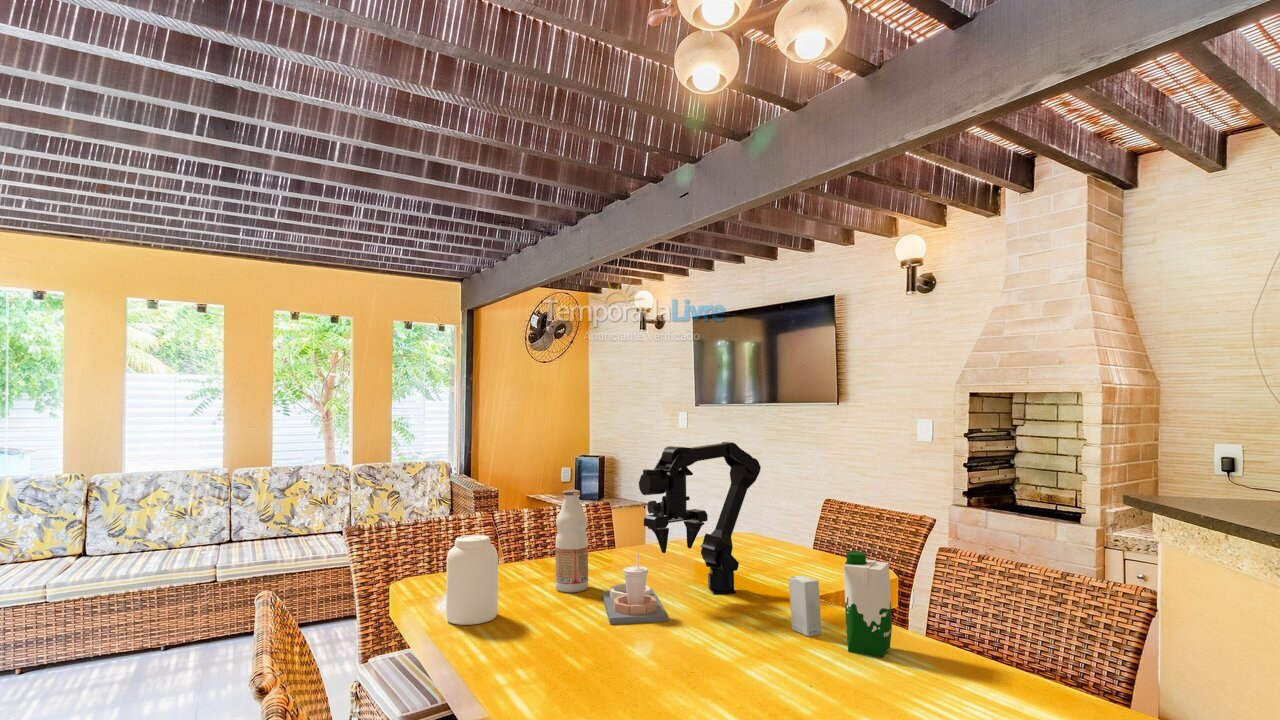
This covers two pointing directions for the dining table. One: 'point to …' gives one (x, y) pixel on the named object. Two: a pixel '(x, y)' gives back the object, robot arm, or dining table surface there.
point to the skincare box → (805, 605)
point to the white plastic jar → (472, 581)
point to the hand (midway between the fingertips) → (676, 550)
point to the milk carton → (867, 605)
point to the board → (632, 607)
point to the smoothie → (635, 583)
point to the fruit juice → (571, 545)
